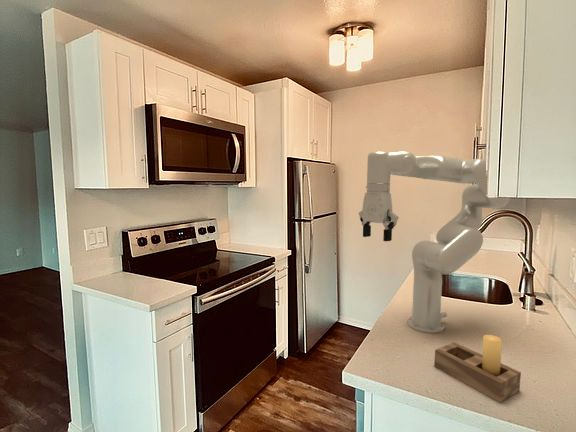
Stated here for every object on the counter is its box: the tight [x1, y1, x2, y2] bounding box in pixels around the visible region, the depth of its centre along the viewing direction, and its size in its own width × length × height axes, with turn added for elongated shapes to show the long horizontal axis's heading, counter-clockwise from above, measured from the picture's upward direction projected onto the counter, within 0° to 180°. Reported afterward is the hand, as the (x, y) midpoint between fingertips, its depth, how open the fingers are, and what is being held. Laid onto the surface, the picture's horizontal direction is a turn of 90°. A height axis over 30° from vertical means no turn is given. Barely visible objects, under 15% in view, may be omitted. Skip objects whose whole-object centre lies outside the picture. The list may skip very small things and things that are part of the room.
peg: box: [482, 334, 503, 377], centre depth 85 cm, size 4×4×12 cm
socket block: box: [433, 341, 522, 403], centre depth 89 cm, size 9×18×5 cm, turn 30°
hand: (376, 238), depth 113 cm, fingers open, 9 cm apart
